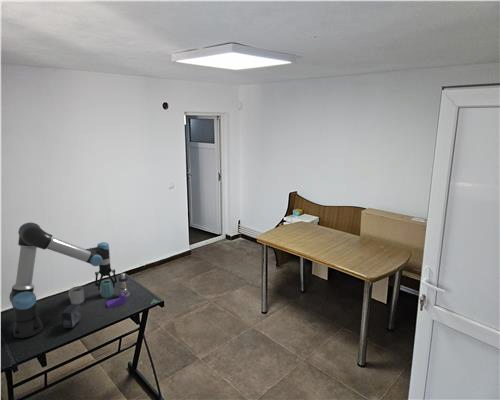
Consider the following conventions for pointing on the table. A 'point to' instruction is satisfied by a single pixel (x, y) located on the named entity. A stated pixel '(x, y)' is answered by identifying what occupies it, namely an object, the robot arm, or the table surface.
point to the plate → (126, 295)
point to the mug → (76, 295)
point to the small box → (71, 316)
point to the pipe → (123, 285)
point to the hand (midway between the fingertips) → (106, 292)
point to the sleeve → (106, 288)
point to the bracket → (116, 301)
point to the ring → (123, 279)
